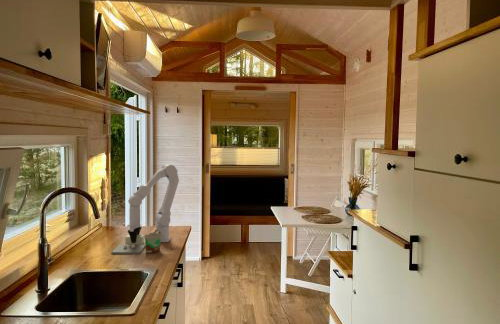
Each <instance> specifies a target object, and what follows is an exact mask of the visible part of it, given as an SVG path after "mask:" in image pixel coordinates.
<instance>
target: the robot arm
mask: <svg viewBox="0 0 500 324" xmlns="http://www.w3.org/2000/svg"><path fill="white" fill-rule="evenodd" d="M163 178H167V180H168V184H167V187H166V191H165V193H164V197H163V199H162V202H161V203H162V204H161V207H160V208H159V210H158V212H157V213H156V214H155V216H154V220H155V222H156V225H155V230H160V231H161V232H162V237H161V242H160V243H169V242H170V240H171V238H172V237H170V224H171V216H172V215H171V209H172V208H171V207H172V204H173V201H174V198H175V196H176V192H177V189H178V185H179V181H180V178H179V174H178V169H177V168H176V166H175V165H172V164H168V163H164V164H162V166H161V167H159V168H158V169H157V171H156V172H155V173H154V174H153V175H152V177H151V178H150V179H149V180H148V182H147V183H145V184H142V185H140V186H138V187H139V188H138V189H137V190H136V191H135V192H134V193H133V194H132V195H130V196H129V197H128V201H127V202H128V204H129V224H127V226H126V227H129V229H128V230H127V233H128V235H130V239H131V243H136V238H137V235H140V232H141V230H142V225H141V205H142V203H143V201H144V199H145V198H146V197H147V196H148V195H149V194H150V193H151V190H152V189H151V188H152V187H153V186H154V185H155V184H157V182H159V180H161V179H163Z"/></svg>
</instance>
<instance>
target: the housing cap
mask: <svg viewBox="0 0 500 324" xmlns="http://www.w3.org/2000/svg"><path fill="white" fill-rule="evenodd" d="M144 238H145V234H139V235H137V238H136V243H131V239H130V235H129V234H127V235H126V236H125V239H124V240H125V242H124V243H125V244H126V245H133V244H134V245H144V244H145V239H144ZM125 244H124V245H125Z"/></svg>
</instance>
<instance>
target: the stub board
mask: <svg viewBox="0 0 500 324" xmlns="http://www.w3.org/2000/svg"><path fill="white" fill-rule="evenodd" d="M144 249H146V248H145V244H143V245H134V244H133V245H126V244H118V245H117V246H116V247H115V248H114V249H113V250H112V251H111V255H141V253H142V252H143V251H144Z"/></svg>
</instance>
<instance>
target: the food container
mask: <svg viewBox="0 0 500 324" xmlns="http://www.w3.org/2000/svg"><path fill="white" fill-rule="evenodd" d="M161 237H162V232H161V231H160V230H156V229H155V230H154V231H153V232H150V233H148V234H144V245H145V248H144V249H145V254H146V255H151V254H154V255H155V254H157V253H160V251H161V243H162V242H161Z"/></svg>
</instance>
